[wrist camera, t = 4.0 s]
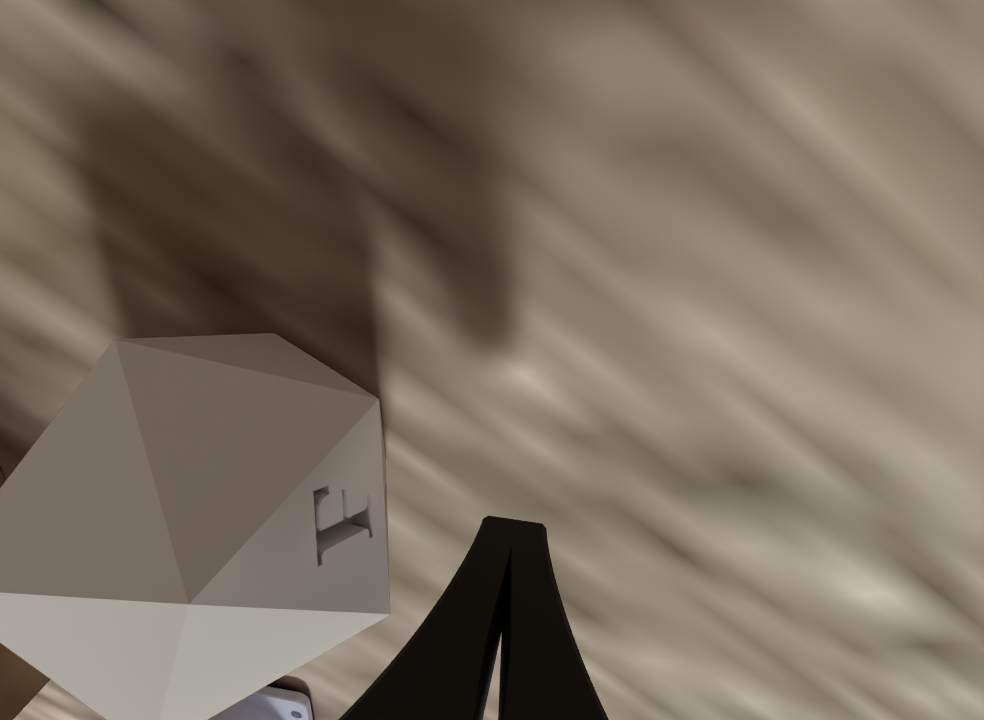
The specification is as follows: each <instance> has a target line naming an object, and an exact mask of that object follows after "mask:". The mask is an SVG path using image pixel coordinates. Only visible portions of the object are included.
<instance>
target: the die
mask: <svg viewBox="0 0 984 720" xmlns="http://www.w3.org/2000/svg"><path fill="white" fill-rule="evenodd" d="M388 615H390V589H389V554H388V520H387V486H386V457H385V448H384V439H383V430H382V421H381V412H380V403H379V399H378V398H377V397H375V396H373V395H372V394H370V393H369V392H367V391H366V390H364V389H362V388H361V387H359V386H358V385H356V384H354V383H353V382H351V381H350V380H348V379H347V378H345V377H343V376H342V375H340V374H339V373H337V372H335V371H334V370H332V369H331V368H329V367H328V366H326V365H324V364H323V363H321V362H320V361H318V360H316V359H315V358H313V357H312V356H310V355H308V354H307V353H305V352H304V351H302V350H301V349H299V348H297V347H296V346H294V345H293V344H291V343H289V342H288V341H286V340H285V339H283V338H282V337H280V336H278V335H277V334H275V333H260V334H234V335H208V336H183V337H157V338H131V339H114V340H113V342H112V343H111V344H110V346H109V347H108V348H107V350H106V351H105V352H104V354H103V355H102V356H101V357H100V359H99V360H98V361H97V363H96V364H95V365H94V367H93V368H92V369H91V370H90V372H89V373H88V374H87V376H86V377H85V378H84V380H83V381H82V382H81V384H80V385H79V386H78V387H77V389H76V390H75V391H74V393H73V394H72V395H71V397H70V398H69V399H68V401H67V402H66V403H65V404H64V406H63V407H62V408H61V410H60V411H59V412H58V414H57V415H56V416H55V417H54V419H53V420H52V421H51V423H50V424H49V425H48V427H47V428H46V429H45V431H44V432H43V433H42V434H41V436H40V437H39V438H38V440H37V441H36V442H35V444H34V445H33V446H32V448H31V449H30V450H29V451H28V453H27V454H26V455H25V457H24V458H23V459H22V461H21V462H20V463H19V464H18V466H17V467H16V468H15V470H14V471H13V472H12V474H11V475H10V476H9V478H8V479H7V480H6V481H5V483H4V484H3V485H2V487H1V488H0V643H1V644H3V645H4V646H5V647H7V648H8V649H10V650H11V651H12V652H14V653H15V654H17V655H18V656H19V657H21V658H22V659H23V660H25V661H26V662H28V663H29V664H30V665H32V666H33V667H35V668H36V669H37V670H39V671H40V672H42V673H43V674H44V675H46V676H47V677H48V678H50V679H51V680H53V681H54V682H55V683H57V684H58V685H60V686H61V687H62V688H64V689H65V690H67V691H68V692H69V693H71V694H72V695H73V696H75V697H76V698H78V699H79V700H80V701H82V702H83V703H85V704H86V705H87V706H89V707H90V708H92V709H93V710H94V711H96V712H97V713H98V714H100V715H101V716H103V717H104V718H105V719H107V720H207V719H209V718H211V717H213V716H214V715H216V714H218V713H220V712H221V711H223V710H225V709H227V708H228V707H230V706H232V705H233V704H235V703H237V702H239V701H240V700H242V699H244V698H246V697H247V696H249V695H251V694H253V693H254V692H256V691H258V690H260V689H261V688H263V687H265V686H267V685H268V684H270V683H272V682H273V681H275V680H277V679H279V678H280V677H282V676H284V675H286V674H287V673H289V672H291V671H293V670H294V669H296V668H298V667H300V666H301V665H303V664H305V663H307V662H308V661H310V660H312V659H313V658H315V657H317V656H319V655H320V654H322V653H324V652H326V651H327V650H329V649H331V648H333V647H334V646H336V645H338V644H340V643H341V642H343V641H345V640H346V639H348V638H350V637H352V636H353V635H355V634H357V633H359V632H360V631H362V630H364V629H366V628H367V627H369V626H371V625H373V624H374V623H376V622H378V621H380V620H381V619H383V618H385V617H386V616H388Z"/></svg>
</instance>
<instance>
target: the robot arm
mask: <svg viewBox="0 0 984 720" xmlns="http://www.w3.org/2000/svg"><path fill="white" fill-rule="evenodd" d="M501 632H502V640H501V665H500V691H499V716H498V720H609V719H608V717H607V715H606V713H605V711H604V709H603V707H602V705H601V702H600V700H599V698H598V696H597V693H596V691H595V689H594V687H593V684H592V682H591V680H590V677H589V675H588V673H587V670H586V668H585V665H584V663H583V660H582V658H581V655H580V653H579V650H578V647H577V645H576V642H575V639H574V637H573V634H572V631H571V628H570V625H569V622H568V619H567V617H566V613H565V610H564V607H563V604H562V600H561V597H560V594H559V591H558V587H557V583H556V580H555V576H554V572H553V568H552V563H551V559H550V554H549V548H548V542H547V532H546V528H545V526H544V525H543V524H541V523H534V522H528V521H521V520H514V519H507V518H501V517H494V516H487V517H485V518H484V519H483V521H482V523H481V526H480V529H479V531H478V533H477V536H476V538H475V540H474V542H473V544H472V546H471V548H470V550H469V551H468V553H467V555H466V557H465V559H464V561H463V562H462V564H461V566H460V567H459V569H458V571H457V572H456V574H455V575H454V577H453V579H452V580H451V582H450V584H449V585H448V587H447V588H446V590H445V591H444V593H443V595H442V596H441V597H440V599H439V600H438V602H437V603H436V605H435V606H434V607H433V609H432V610H431V612H430V613H429V614H428V616H427V617H426V619H425V620H424V622H423V623H422V624H421V626H420V627H419V628H418V630H417V631H416V632H415V634H414V635H413V636H412V637H411V639H410V640H409V641H408V643H407V644H406V645H405V646H404V648H403V649H402V650H401V651H400V652H399V654H398V655H397V656H396V657H395V658H394V660H393V661H392V662H391V663H390V664H389V666H388V667H387V668H386V669H385V670H384V671H383V672H382V674H381V675H380V676H379V677H378V678H377V679H376V680H375V681H374V682H373V684H372V685H371V686H370V687H369V688H368V689H367V690H366V691H365V693H364V694H363V695H362V696H361V697H360V698H359V699H358V700H357V701H356V702H355V703H354V704H353V705H352V706H351V707H350V708H349V709H348V711H347V712H346V713H345V714H344V715H343V716H341V717H340V718H339V719H338V720H482V719H483V715H484V710H485V705H486V701H487V696H488V692H489V687H490V682H491V678H492V673H493V669H494V664H495V659H496V655H497V650H498V646H499V641H500V636H501ZM207 720H313V718H312V711H311V705H310V701H309V698H308V697H307V696H306V695H305V694H303V693H300V692H296V691H290V690H285V689H280V688H274V687H269V686H265V687H263V688H261V689H260V690H258V691H256V692H254V693H253V694H251V695H249V696H247V697H246V698H244V699H242V700H240V701H239V702H237V703H235V704H233V705H232V706H230V707H228V708H227V709H225V710H223V711H221V712H220V713H218V714H216V715H214V716H213V717H211V718H209V719H207Z"/></svg>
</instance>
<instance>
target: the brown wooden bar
mask: <svg viewBox="0 0 984 720" xmlns="http://www.w3.org/2000/svg"><path fill="white" fill-rule="evenodd" d="M4 483H5V479H4V477H3V474H2V472H1V470H0V488H1V487H2V485H3V484H4ZM49 680H50V678H48V677H47V676H46V675H44V674H43V673H42V672H40V671H39V670H37V669H36V668H35V667H33V666H32V665H30V664H29V663H28V662H26V661H25V660H23V659H22V658H21V657H19V656H18V655H17V654H15V653H14V652H12V651H11V650H10V649H8V648H7V647H5V646H4V645H3V644H1V643H0V720H13V719H14V718H15V717H16V716H17V715H18V714H19V713H20V711H21V710H22V709H23V708H24V707H25V706H26V705H27V704H28V703H29V702H30V701H31V700H32V699H33V697H34V696H35V695H36V694H37V693H38V692H39V691H40V690H41V689H42V688H43V687H44V686H45V685H46V683H47V682H48V681H49Z"/></svg>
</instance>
